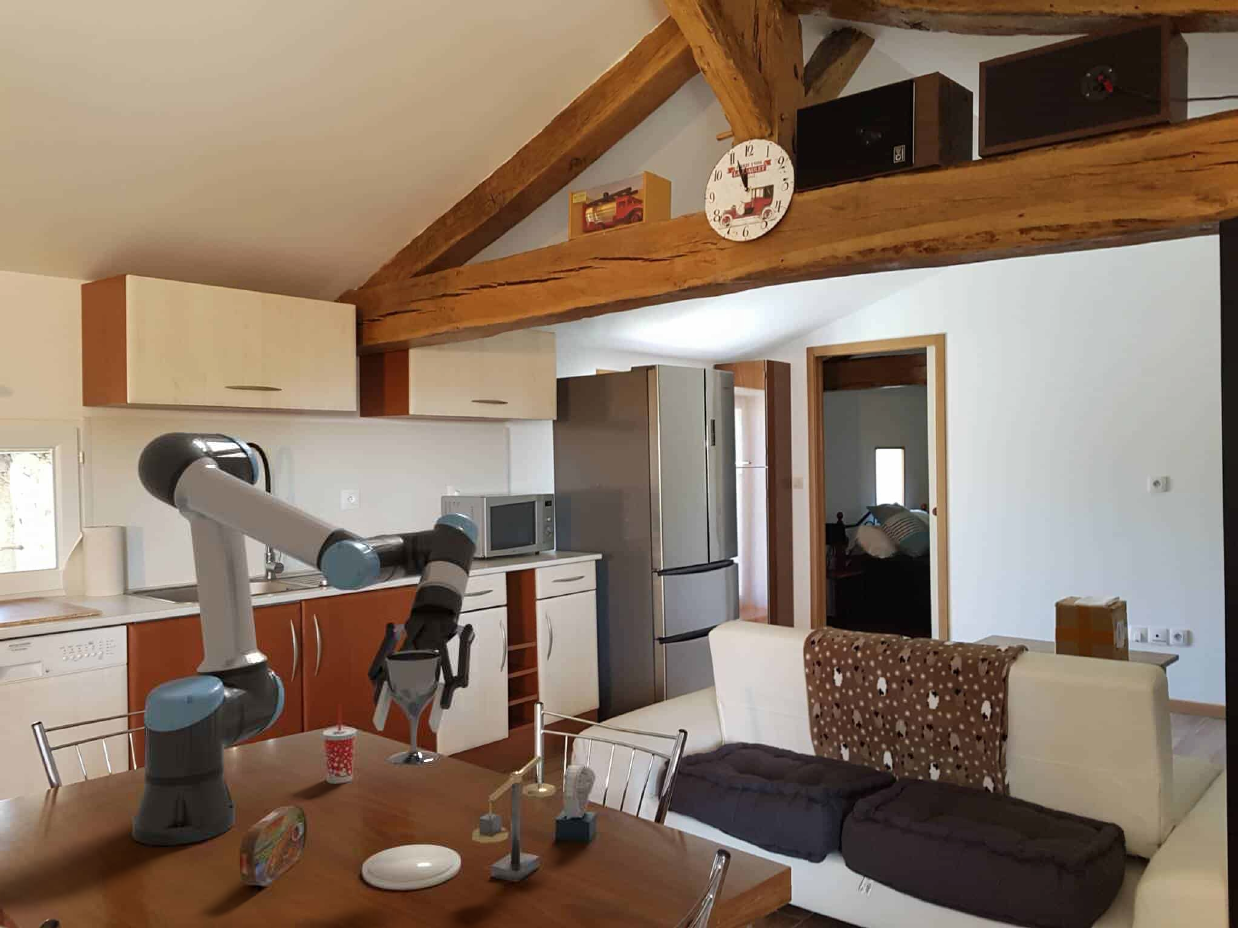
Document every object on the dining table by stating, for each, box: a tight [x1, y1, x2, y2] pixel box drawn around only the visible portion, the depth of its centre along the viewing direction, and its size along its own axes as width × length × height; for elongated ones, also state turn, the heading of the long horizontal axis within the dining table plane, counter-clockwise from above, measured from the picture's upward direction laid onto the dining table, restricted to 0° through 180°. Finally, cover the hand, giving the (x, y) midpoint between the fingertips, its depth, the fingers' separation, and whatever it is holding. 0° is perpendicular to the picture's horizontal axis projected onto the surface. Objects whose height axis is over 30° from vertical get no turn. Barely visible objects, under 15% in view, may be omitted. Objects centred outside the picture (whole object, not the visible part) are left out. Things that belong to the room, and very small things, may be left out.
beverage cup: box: [322, 704, 357, 784], centre depth 181 cm, size 6×6×14 cm
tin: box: [238, 805, 308, 887], centre depth 139 cm, size 15×3×8 cm, turn 171°
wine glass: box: [385, 649, 442, 767], centre depth 141 cm, size 8×8×15 cm
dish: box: [361, 844, 462, 891], centre depth 140 cm, size 14×14×1 cm
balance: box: [471, 755, 557, 883], centre depth 140 cm, size 18×5×15 cm, turn 153°
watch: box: [555, 763, 597, 843], centre depth 153 cm, size 6×8×11 cm
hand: (405, 726), depth 137 cm, fingers closed on wine glass, 7 cm apart
